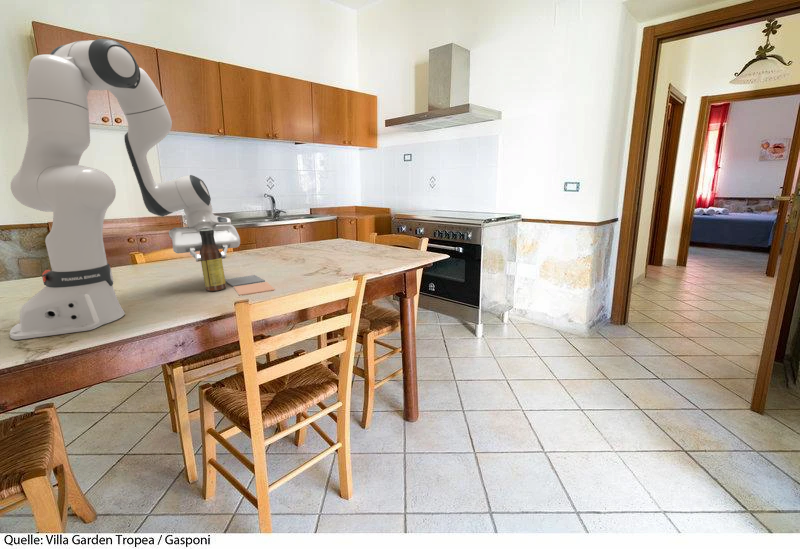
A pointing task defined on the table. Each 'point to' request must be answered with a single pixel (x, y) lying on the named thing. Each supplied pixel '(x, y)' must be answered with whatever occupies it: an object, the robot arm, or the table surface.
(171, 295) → the table surface
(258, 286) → the terracotta tile
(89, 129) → the robot arm
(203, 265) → the sauce bottle
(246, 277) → the slate tile
